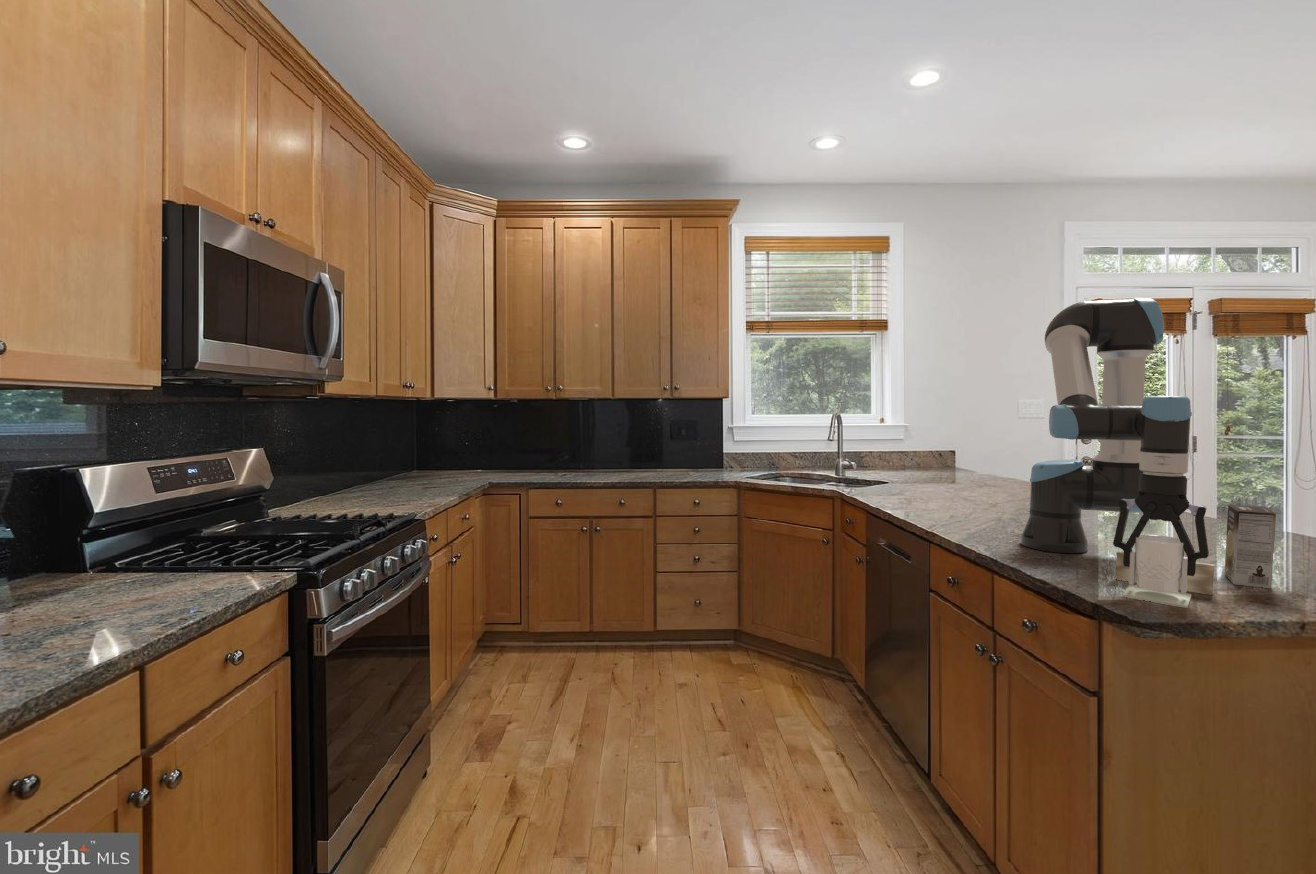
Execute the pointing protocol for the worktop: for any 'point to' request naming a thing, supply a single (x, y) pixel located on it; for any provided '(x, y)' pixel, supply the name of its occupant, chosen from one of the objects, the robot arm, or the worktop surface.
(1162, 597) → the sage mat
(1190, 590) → the birch screen
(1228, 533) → the coffee box
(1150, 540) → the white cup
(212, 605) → the worktop surface
